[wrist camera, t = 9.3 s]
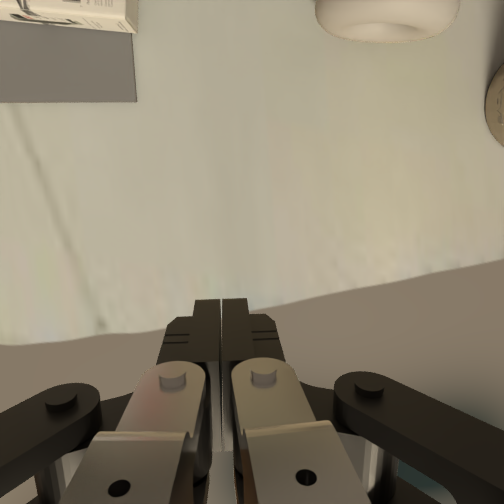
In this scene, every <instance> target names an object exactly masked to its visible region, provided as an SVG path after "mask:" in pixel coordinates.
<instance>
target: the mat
mask: <svg viewBox="0 0 504 504" xmlns="http://www.w3.org/2000/svg"><path fill="white" fill-rule="evenodd" d="M37 102H137V95H136V82H135V69H134V56H133V44H132V33H127V32H116V31H106V30H96V29H86V28H76V27H65V26H55V25H45V24H35V23H25V22H15V21H5V20H0V103H37Z"/></svg>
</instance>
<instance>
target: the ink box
mask: <svg viewBox="0 0 504 504" xmlns="http://www.w3.org/2000/svg"><path fill="white" fill-rule="evenodd" d="M0 20H5V21H15V22H25V23H35V24H45V25H55V26H65V27H76V28H86V29H96V30H106V31H116V32H127V33H138V0H0Z"/></svg>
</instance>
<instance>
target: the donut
mask: <svg viewBox="0 0 504 504" xmlns="http://www.w3.org/2000/svg"><path fill="white" fill-rule="evenodd" d="M459 7H460V0H316V5H315V15H316V18H317V21H318V23H319V24H320V25H321V27H322V28H323V29H324V30H325V31H326V32H328V33H330V34H331V35H334V36H336V37H339V38H343V39H347V40H352V41H360V42H373V43H399V42H411V41H418V40H423V39H427V38H430V37H433V36H435V35H437V34H439V33H441V32H442V31H444V30H445V29H446V28H448V27H449V26H450V25H451V24H452V23H453V21H454V20H455V18H456V17H457V14H458V11H459Z"/></svg>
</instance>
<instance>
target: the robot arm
mask: <svg viewBox="0 0 504 504" xmlns="http://www.w3.org/2000/svg"><path fill="white" fill-rule="evenodd" d="M485 113H486V119H487V124H488V126H489V129H490V131H491V133H492V135H493V136H494V137H495V139H496V140H497V141H498V142H499V143H500V144H501V145H502V146H504V64H503V65H502V66H501V67H500V68H499V70H498V71H497V73H496V74H495V76H494V77H493V80H492V82H491V84H490V87H489V89H488V93H487V98H486V109H485ZM222 380H223V410H224V411H223V412H224V442H225V443H224V444H225V451H233V460H234V486H235V494H236V502H237V504H441V503H439V502H437V501H436V500H434V499H433V498H431V497H430V496H428V495H427V494H425V493H423V492H422V491H420V490H419V489H417V488H416V487H414V486H412V485H411V484H409V483H408V482H406V481H405V480H403V479H401V478H400V477H398V476H397V469H398V460H399V459H400V460H402V461H403V462H405V463H406V464H408V465H410V466H411V467H413V468H415V469H416V470H418V471H420V472H421V473H423V474H425V475H426V476H428V477H429V478H431V479H433V480H434V481H436V482H438V483H439V484H441V485H443V486H444V487H445V488H446V489H447V490H448V491H449V492H450V493H451V494H452V495H453V497H454V499H455V500H456V502H457V504H504V431H503V430H501V429H499V428H496V427H494V426H492V425H490V424H487V423H486V422H483V421H481V420H479V419H477V418H475V417H473V416H470V415H468V414H466V413H464V412H462V411H460V410H457V409H455V408H453V407H451V406H449V405H446V404H444V403H442V402H440V401H438V400H435V399H433V398H431V397H429V396H427V395H425V394H423V393H421V392H418V391H416V390H414V389H412V388H410V387H408V386H405V385H403V384H401V383H399V382H397V381H394V380H392V379H390V378H388V377H386V376H383V375H380V374H376V373H372V372H361V371H359V372H351V373H347V374H344V375H342V376H340V377H339V378H338V379H337V380H336V381H335V384H334V390H332V389H325V388H318V387H314V386H310V385H307V384H305V383H302V382H300V381H299V380H298V378H297V375H296V373H295V371H294V369H293V368H292V367H291V366H290V365H289V364H287V363H286V362H285V358H284V354H283V350H282V347H281V344H280V340H279V336H278V332H277V328H276V324H275V321H274V320H272V319H271V318H270V317H269V316H267V315H266V314H249V310H248V303H247V298H237V299H222V338H221V306H220V299H208V300H195V305H194V311H193V316H188V317H176V318H175V319H174V320H173V321H172V322H171V323H169V324H168V325H167V328H166V332H165V336H164V339H163V344H162V346H161V350H160V353H159V356H158V360H157V363H156V366H153V367H152V368H150V369H149V370H147V371H146V372H144V374H143V375H142V376H141V378H140V380H139V382H138V384H137V386H136V388H135V390H134V392H132V393H130V394H127V395H124V396H120V397H117V398H112V399H108V400H104V401H100V395H99V392H98V390H97V389H96V388H95V387H93V386H91V385H89V384H84V383H69V384H63V385H59V386H55V387H52V388H49V389H47V390H45V391H43V392H41V393H39V394H37V395H35V396H33V397H31V398H29V399H27V400H25V401H23V402H21V403H19V404H17V405H15V406H13V407H11V408H9V409H7V410H6V411H4V412H2V413H0V498H1V497H2V496H4V495H5V494H6V493H8V492H10V491H11V490H13V489H14V488H16V487H17V486H19V485H20V484H22V483H23V482H25V481H26V480H28V479H29V478H30V477H32V476H34V478H35V483H36V488H37V494H38V496H36V497H35V498H34V499H32V500H31V501H30V502H28V503H27V504H207V500H208V491H209V484H210V473H209V470H210V467H211V464H212V452H222Z"/></svg>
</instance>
